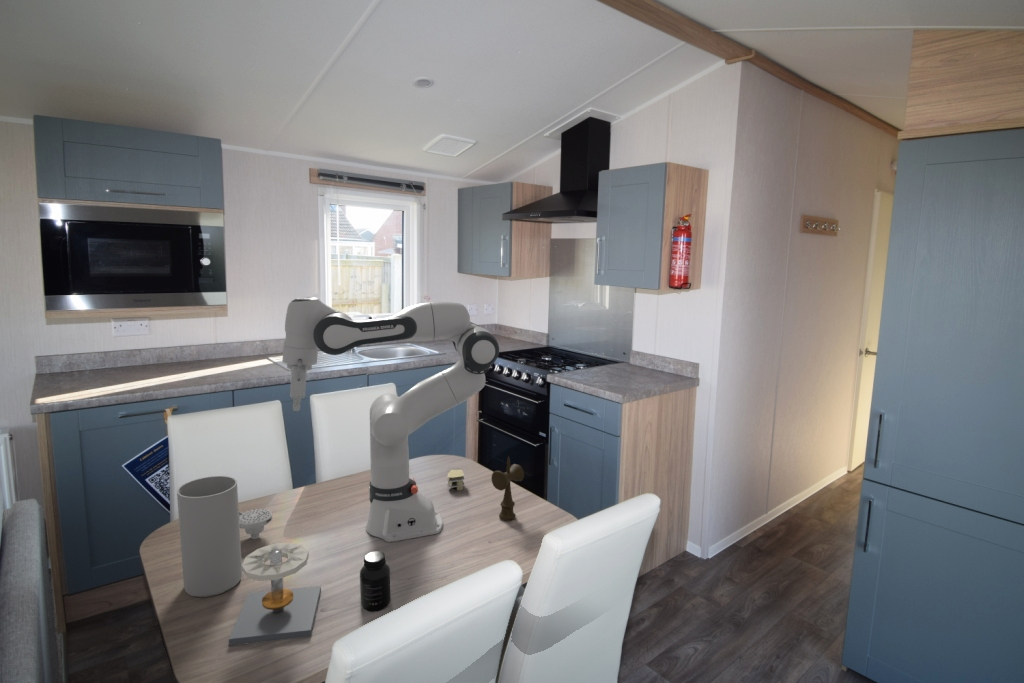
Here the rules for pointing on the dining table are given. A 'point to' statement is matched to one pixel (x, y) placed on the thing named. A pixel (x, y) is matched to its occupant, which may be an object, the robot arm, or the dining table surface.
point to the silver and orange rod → (277, 589)
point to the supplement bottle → (375, 582)
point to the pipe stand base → (276, 618)
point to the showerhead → (254, 521)
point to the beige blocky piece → (455, 479)
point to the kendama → (507, 488)
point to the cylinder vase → (209, 535)
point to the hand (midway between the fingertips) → (296, 405)
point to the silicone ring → (262, 572)
